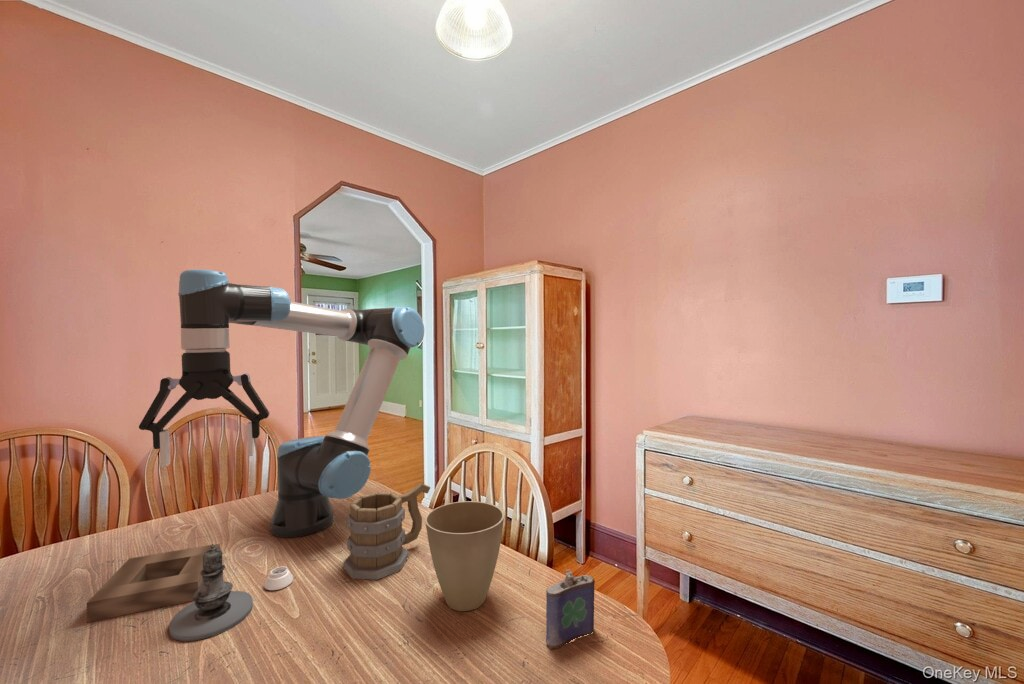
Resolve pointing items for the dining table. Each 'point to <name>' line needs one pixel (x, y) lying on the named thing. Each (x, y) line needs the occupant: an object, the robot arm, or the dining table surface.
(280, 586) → the white tapered ring
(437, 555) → the plant pot
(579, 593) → the flask
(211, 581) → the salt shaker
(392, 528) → the tankard
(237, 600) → the slate mat
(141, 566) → the pocket holder
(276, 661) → the dining table surface
